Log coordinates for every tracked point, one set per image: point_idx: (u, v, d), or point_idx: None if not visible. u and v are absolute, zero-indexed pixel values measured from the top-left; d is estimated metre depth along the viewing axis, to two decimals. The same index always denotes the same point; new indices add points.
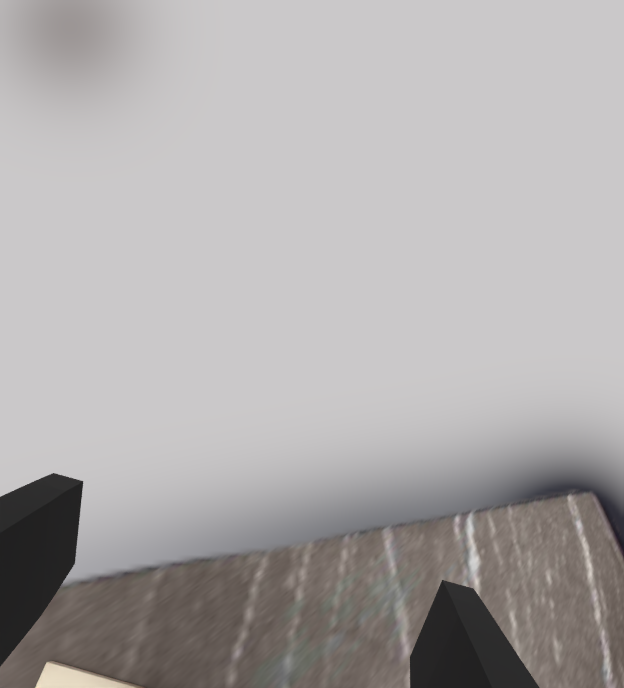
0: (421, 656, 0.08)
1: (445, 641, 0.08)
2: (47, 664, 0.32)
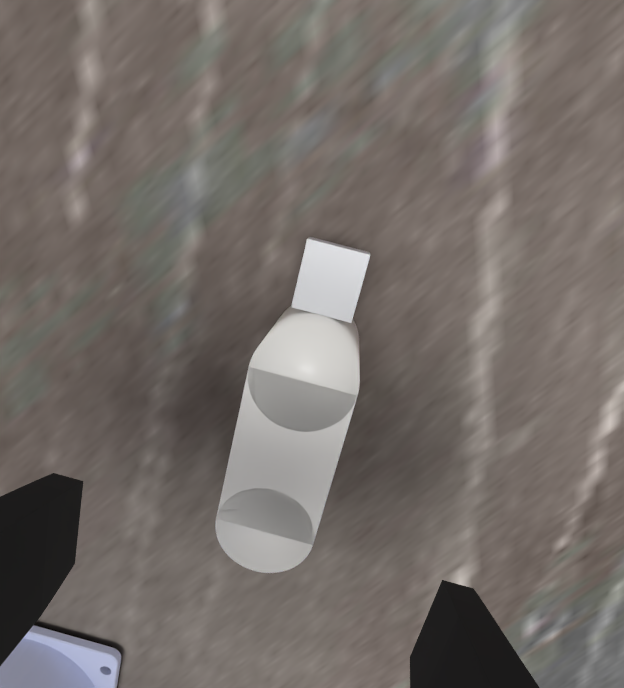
0: (421, 656, 0.08)
1: (445, 641, 0.08)
2: None
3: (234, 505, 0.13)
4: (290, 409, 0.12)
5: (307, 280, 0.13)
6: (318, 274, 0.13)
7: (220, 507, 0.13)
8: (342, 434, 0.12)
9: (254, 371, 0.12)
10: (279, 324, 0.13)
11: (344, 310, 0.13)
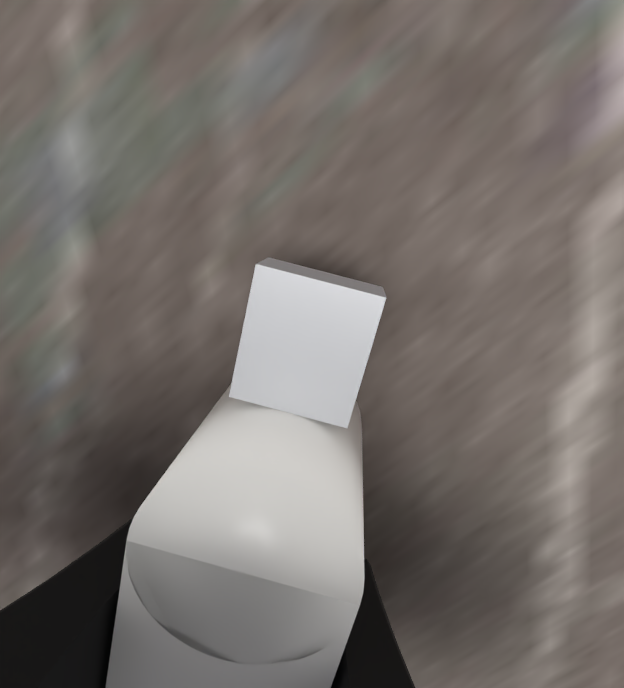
0: None
1: None
2: None
3: None
4: (218, 622, 0.06)
5: (258, 346, 0.06)
6: (279, 335, 0.06)
7: None
8: (328, 674, 0.06)
9: (139, 549, 0.06)
10: (201, 436, 0.06)
11: (333, 404, 0.07)
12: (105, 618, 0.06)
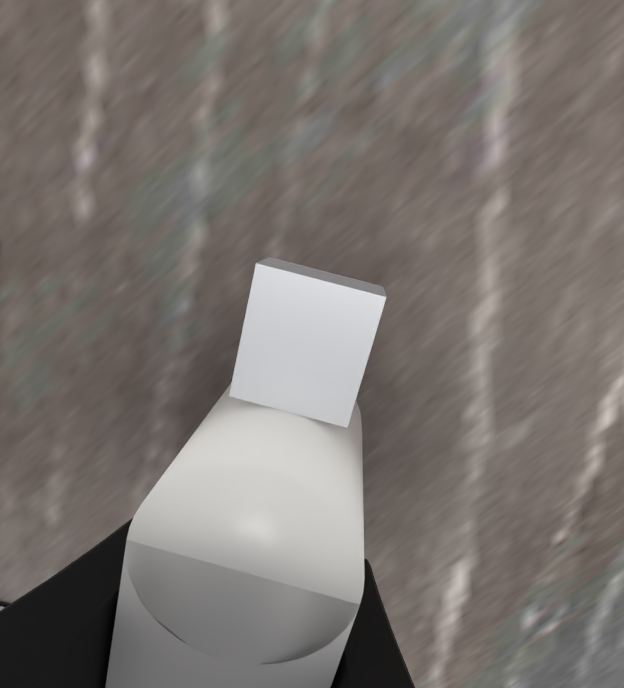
0: None
1: None
2: None
3: None
4: (218, 622, 0.06)
5: (258, 346, 0.06)
6: (279, 334, 0.06)
7: None
8: (328, 673, 0.06)
9: (139, 548, 0.06)
10: (201, 435, 0.06)
11: (333, 404, 0.07)
12: (105, 618, 0.06)
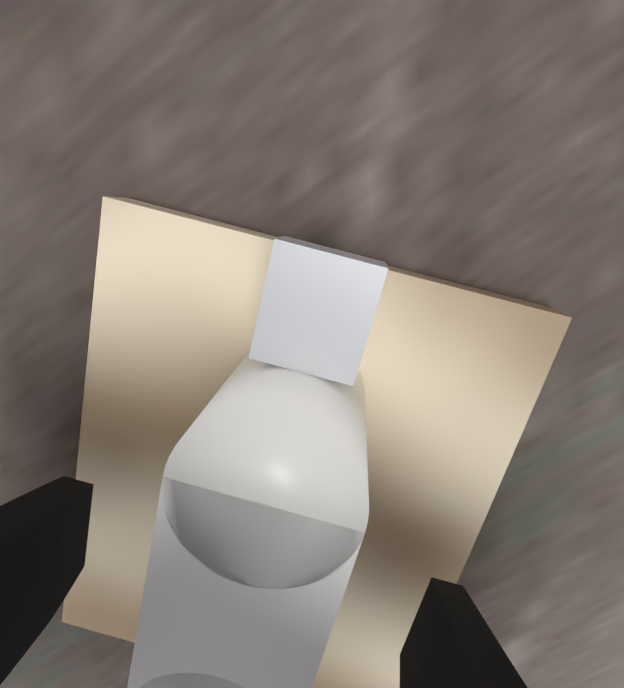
0: (410, 653, 0.08)
1: (433, 638, 0.08)
2: (107, 203, 0.09)
3: None
4: (242, 551, 0.07)
5: (275, 313, 0.07)
6: (294, 302, 0.07)
7: None
8: (336, 596, 0.07)
9: (173, 485, 0.07)
10: (225, 391, 0.07)
11: (341, 364, 0.07)
12: None
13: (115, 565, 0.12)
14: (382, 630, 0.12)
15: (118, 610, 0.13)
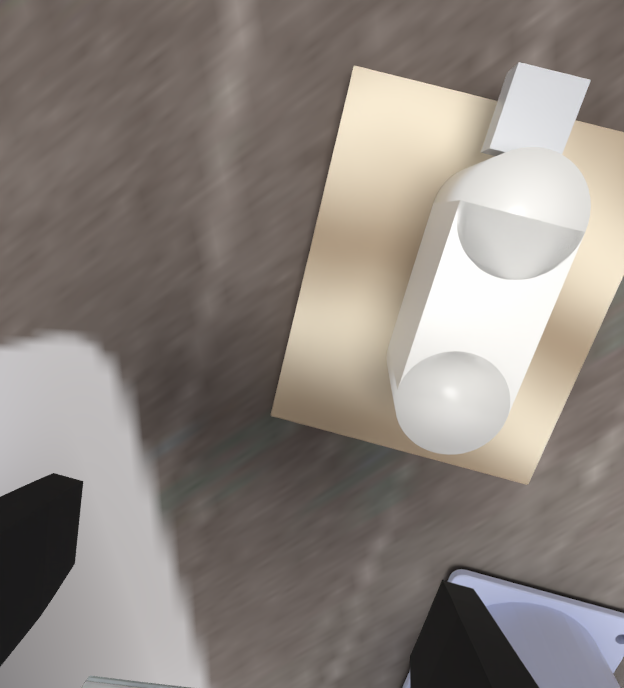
0: (421, 656, 0.08)
1: (445, 641, 0.08)
2: (356, 70, 0.14)
3: (421, 373, 0.12)
4: (502, 252, 0.11)
5: (512, 114, 0.11)
6: (525, 106, 0.11)
7: (404, 376, 0.12)
8: (560, 281, 0.11)
9: (466, 206, 0.11)
10: (482, 162, 0.11)
11: (551, 150, 0.12)
12: None
13: (320, 363, 0.16)
14: (522, 408, 0.16)
15: (317, 402, 0.17)
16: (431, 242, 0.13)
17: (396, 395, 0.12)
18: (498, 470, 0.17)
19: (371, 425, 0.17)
